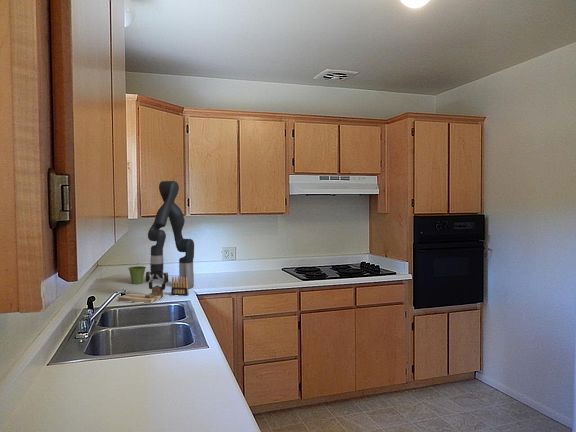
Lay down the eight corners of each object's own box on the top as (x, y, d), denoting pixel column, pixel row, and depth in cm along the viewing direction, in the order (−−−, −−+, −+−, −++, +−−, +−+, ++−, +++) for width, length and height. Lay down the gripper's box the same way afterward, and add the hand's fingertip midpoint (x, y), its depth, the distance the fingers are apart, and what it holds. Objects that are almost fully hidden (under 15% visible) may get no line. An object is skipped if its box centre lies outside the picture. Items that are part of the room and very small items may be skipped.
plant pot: (131, 285, 275) (131, 269, 274) (126, 283, 284) (125, 267, 284) (148, 283, 282) (148, 267, 282) (142, 280, 292) (142, 265, 291)
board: (129, 297, 243) (129, 293, 243) (160, 299, 237) (160, 295, 237) (118, 301, 233) (118, 297, 233) (150, 304, 227) (150, 299, 227)
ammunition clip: (188, 295, 248) (188, 276, 248) (187, 295, 246) (187, 276, 246) (172, 294, 250) (172, 275, 249) (171, 295, 248) (170, 276, 247)
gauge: (155, 297, 243) (155, 284, 243) (163, 297, 242) (162, 285, 241) (143, 302, 232) (143, 289, 231) (151, 302, 230) (150, 289, 230)
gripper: (170, 262, 241) (170, 288, 242) (150, 261, 245) (150, 287, 245) (163, 264, 234) (163, 291, 234) (142, 262, 238) (142, 289, 238)
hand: (157, 289), depth 240 cm, fingers open, 8 cm apart
